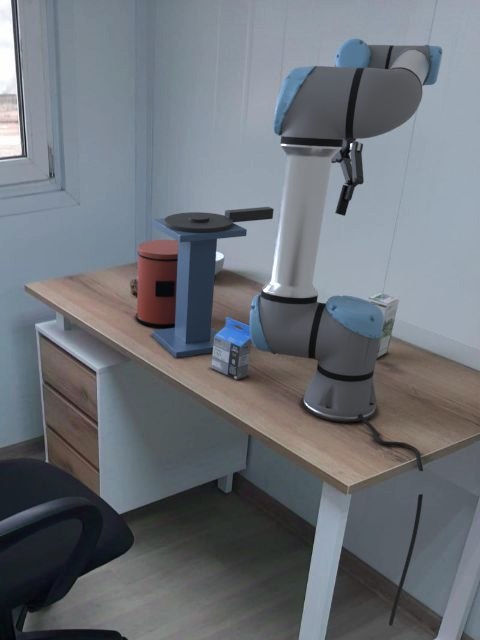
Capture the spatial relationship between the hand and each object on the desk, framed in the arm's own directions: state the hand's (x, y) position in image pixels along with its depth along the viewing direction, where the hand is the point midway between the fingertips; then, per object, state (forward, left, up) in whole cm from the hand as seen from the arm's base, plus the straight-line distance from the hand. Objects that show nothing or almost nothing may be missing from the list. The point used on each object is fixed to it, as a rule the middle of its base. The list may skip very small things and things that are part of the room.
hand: (320, 213), depth 184 cm
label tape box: (-23, +28, -31) cm, 48 cm away
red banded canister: (+15, +35, -31) cm, 49 cm away
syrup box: (-18, -11, -31) cm, 37 cm away
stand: (-3, +32, -31) cm, 45 cm away
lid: (-2, +27, -1) cm, 27 cm away
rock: (+35, +35, -31) cm, 58 cm away
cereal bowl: (+52, +16, -31) cm, 62 cm away
